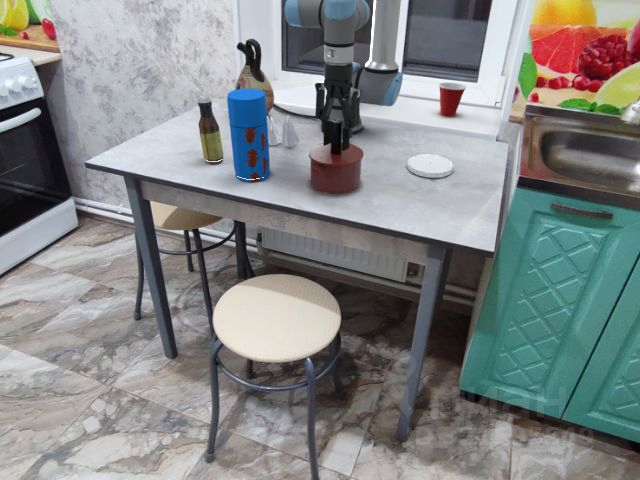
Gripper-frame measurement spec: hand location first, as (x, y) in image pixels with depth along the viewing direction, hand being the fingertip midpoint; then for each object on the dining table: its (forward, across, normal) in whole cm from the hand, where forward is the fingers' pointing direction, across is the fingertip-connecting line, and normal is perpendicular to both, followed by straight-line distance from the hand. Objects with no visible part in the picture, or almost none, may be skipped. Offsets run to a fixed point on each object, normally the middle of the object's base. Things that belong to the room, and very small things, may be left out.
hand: (336, 146), depth 135 cm
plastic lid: (+12, +19, +25) cm, 34 cm away
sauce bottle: (+12, -41, -10) cm, 44 cm away
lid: (+3, 0, 0) cm, 3 cm away
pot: (+12, 0, 0) cm, 12 cm away
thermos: (+12, -24, -10) cm, 29 cm away
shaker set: (+12, -31, +13) cm, 36 cm away
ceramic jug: (+12, -57, +29) cm, 65 cm away
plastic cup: (+12, +3, +78) cm, 79 cm away
